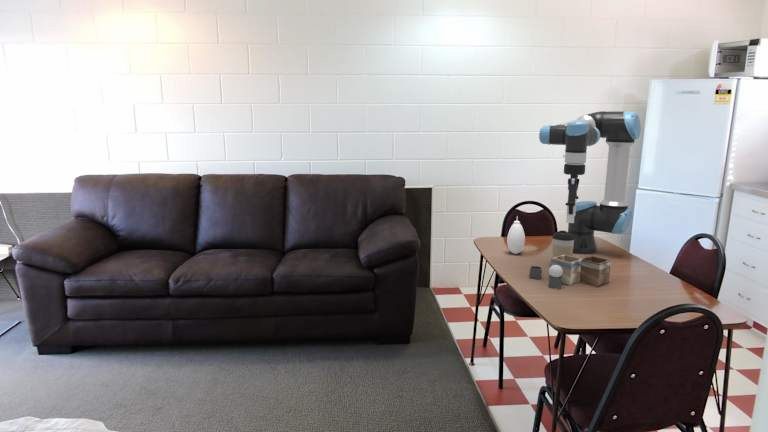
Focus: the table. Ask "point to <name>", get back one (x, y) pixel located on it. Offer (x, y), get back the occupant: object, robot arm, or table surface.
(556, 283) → the stand grey
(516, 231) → the sauce bottle
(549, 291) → the table surface
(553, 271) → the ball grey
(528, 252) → the table surface
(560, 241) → the coffee cup
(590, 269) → the brown open container
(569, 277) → the open beige box
